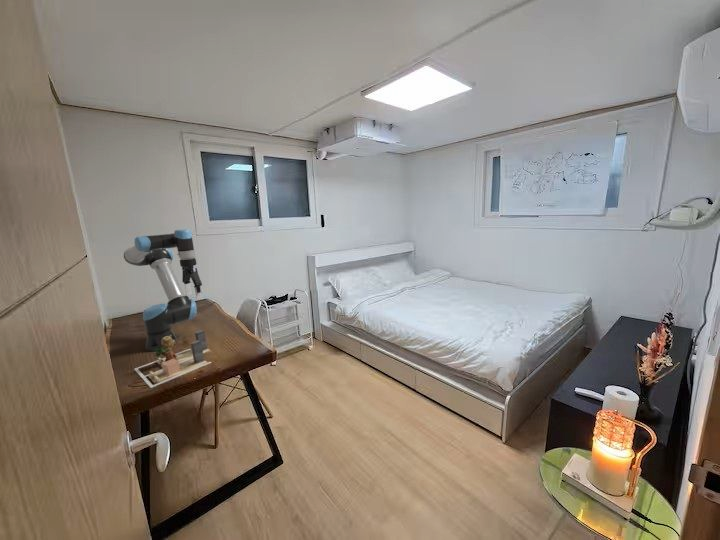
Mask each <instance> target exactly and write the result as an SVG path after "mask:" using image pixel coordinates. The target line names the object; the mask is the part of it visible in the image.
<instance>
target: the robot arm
mask: <svg viewBox="0 0 720 540" xmlns="http://www.w3.org/2000/svg"><path fill="white" fill-rule="evenodd" d="M194 247H195V246H194V241H193V235H192V232H191V229H189V228H187V229H185V228H184V229H175V230H174V233H166V234H165V233H164V234H156V235H153V234H152V235H142V236H136V237H135V238H134V245H133V246H131V247H128V248H127V249H126V250H125V251H124V252H123V259H124V260H125V262H126V263H128V264H129V265H132V266H136V267H137V266H138V267H142V266H150V268H151V269H152V270H154V271H155V273H156V275H157V277H158V279H159V281H160V282H159V283H160V284H161V287H162V288H163V290H164V293H165V295H166V297H167V300H168V301H167V304H166V303H159V304H155V305H154V304H153V305H152V306H149V307H147V308H145V309H144V310H143V312H142V319H143V322H144V326H145V332H146V341H145V349H146V351H148V352H155V349H160V348H162V347H163V346H162V344H161V340H162V338H163V337H166V336H170V335H172V336H171V338H172V340H175V341H174V342H176V344H177V343H178V338H177V336H176V334H175V333H174V332H173V329H172V326H171V325H174V324H177V323H182V322H186V321H189V320H191V319H194V318H195V317H196V316H197V313H198V312H197V310H198V309H197V303H196V301H195V300H194V299H193V298H189V296H191V295H193V290H192V284H191V283H193V288H194V291H195V297H196V300H199V299H200V300H201V299H203V294H202V288H201V286H203V282H202V280H201V278H200V275H199V271H198V268H197V267H194V266H196V265H197V258H196V252H195V248H194ZM175 248H176V249H177V254H176V255H177V256H178V258H179V264H180V267H181V270H182V281H181V282H182V283H184V289H185V293H186V295H185V293H184V292H183V289H182V287H181V284H180V283H179V280H178V279H177V276H176V274H175V272H174V270H173V269H172V265H171V264H172V262H173V259H174V255H173V252H172V250H171V249H175ZM191 280H192V281H191Z"/></svg>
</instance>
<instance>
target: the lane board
mask: <svg viewBox="0 0 720 540" xmlns="http://www.w3.org/2000/svg"><path fill="white" fill-rule="evenodd" d="M191 349H192V348H188V349H185V350H183V351H180V352H179V351H178V352H177V353H174V354H175V355H178V354H180V353H183V352H186V351H188V350H191ZM161 359H162V360H164V359H166V357H165V356H164V357H163V358H161ZM191 359H194V358H190V359H187V360H185V361H182V362H180V363H179V364H181V363H184V362H186V361H189V360H191ZM157 362H158V359H157V360H154V361H153V362H149V363H146V364H144V365H141V366H138V367H135V368H134V369H133V370H134V371H135V373H136V374H137V375H139V377H140V378H141V379H142V380H143V381H144V383H146V385H148V387H149V388H150V389H152V388H154V387H157V386H159V385H161V384H164V383H166V382H169V381H171V380H174V379H176V378H178V377H181V376H182V375H185V374H188V373H191V372H193V371H195V370H197V369H201V368H202V367H204V366H207V365H210V364H211V363H212V361H207V362H208V363H206V364H203V365H201V366H199V367H196V368H194V369H191V370H189V371H187V372H184V373H182V374H179V375H177V376H174V377H172V378H170V379H167V380H165V381H162V382H160V383H158V384H155V383H154V384H152V382H151V381H150V380H149V378H147V377H148V376H150V373H149V374H146V375H144V374H143V373H142V372H141V370H139V369H141V368H144V367H147V366H149V365H152V364H154V363H157ZM161 371H163V369H162V368H161V369H159V370H156V371H154V372H153V373H154V374H155V373H158V372H161Z"/></svg>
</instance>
